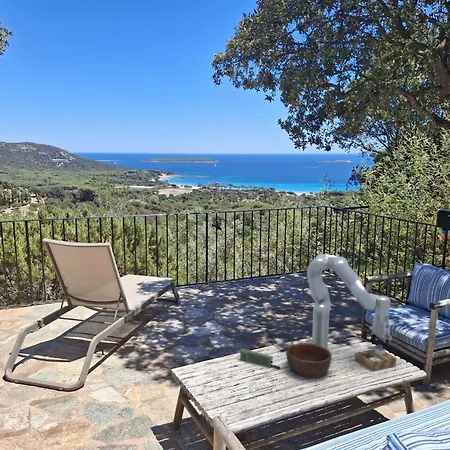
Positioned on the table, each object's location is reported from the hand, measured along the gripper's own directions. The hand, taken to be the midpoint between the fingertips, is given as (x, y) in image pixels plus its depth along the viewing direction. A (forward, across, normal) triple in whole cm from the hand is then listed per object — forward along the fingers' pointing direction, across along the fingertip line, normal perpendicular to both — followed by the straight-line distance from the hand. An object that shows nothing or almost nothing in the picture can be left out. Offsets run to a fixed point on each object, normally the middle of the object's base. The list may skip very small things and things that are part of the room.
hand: (378, 345), depth 240 cm
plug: (+9, -1, -1) cm, 9 cm away
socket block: (+10, -2, +4) cm, 11 cm away
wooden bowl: (+11, +6, +45) cm, 47 cm away
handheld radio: (+12, +21, +67) cm, 72 cm away
